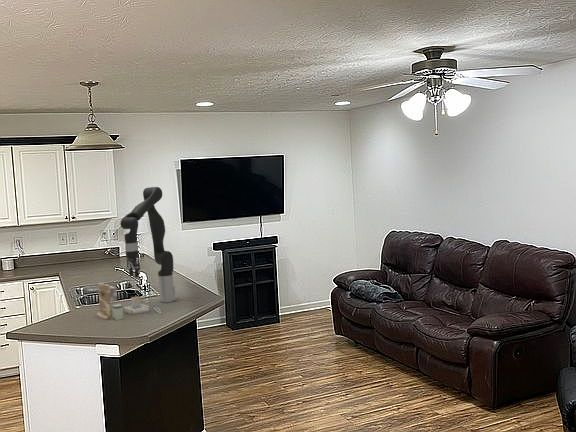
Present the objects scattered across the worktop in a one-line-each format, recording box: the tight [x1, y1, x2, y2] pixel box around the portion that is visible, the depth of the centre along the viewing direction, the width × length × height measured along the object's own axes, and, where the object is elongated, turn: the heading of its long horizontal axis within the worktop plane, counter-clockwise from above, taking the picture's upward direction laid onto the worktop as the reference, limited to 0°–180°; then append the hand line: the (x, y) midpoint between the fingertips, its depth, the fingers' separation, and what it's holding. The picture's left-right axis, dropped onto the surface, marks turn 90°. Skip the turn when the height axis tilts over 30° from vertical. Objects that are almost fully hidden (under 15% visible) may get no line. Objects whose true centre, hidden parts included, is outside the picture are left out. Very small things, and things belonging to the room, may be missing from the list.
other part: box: [112, 303, 124, 321], centre depth 354 cm, size 4×4×8 cm
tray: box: [123, 303, 151, 316], centre depth 371 cm, size 12×12×3 cm
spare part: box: [130, 296, 142, 309], centre depth 370 cm, size 4×4×8 cm
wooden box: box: [96, 282, 118, 320], centre depth 363 cm, size 9×16×20 cm, turn 36°
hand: (134, 276), depth 369 cm, fingers open, 8 cm apart
